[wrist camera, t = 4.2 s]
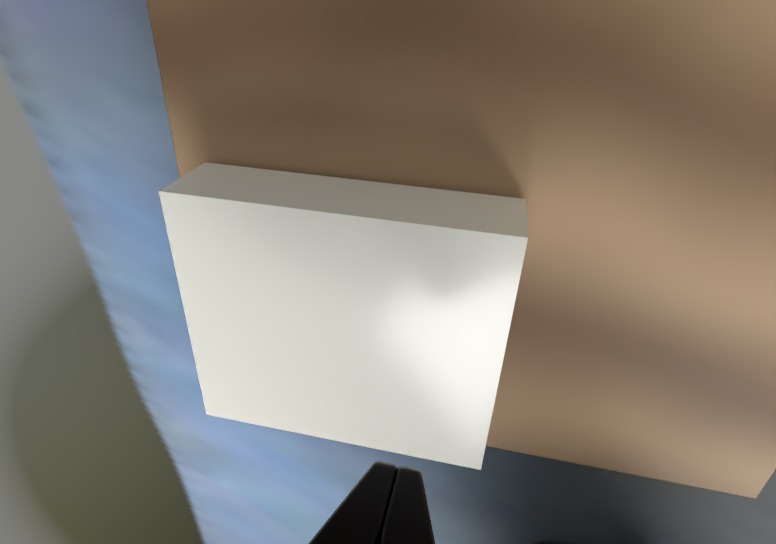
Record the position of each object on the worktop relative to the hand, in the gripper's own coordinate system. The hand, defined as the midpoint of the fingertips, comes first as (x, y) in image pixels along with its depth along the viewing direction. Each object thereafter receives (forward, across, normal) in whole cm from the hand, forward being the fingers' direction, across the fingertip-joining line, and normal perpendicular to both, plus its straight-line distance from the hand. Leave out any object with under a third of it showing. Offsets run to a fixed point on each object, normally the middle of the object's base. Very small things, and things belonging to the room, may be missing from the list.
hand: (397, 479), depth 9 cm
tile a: (+4, -2, 0) cm, 5 cm away
